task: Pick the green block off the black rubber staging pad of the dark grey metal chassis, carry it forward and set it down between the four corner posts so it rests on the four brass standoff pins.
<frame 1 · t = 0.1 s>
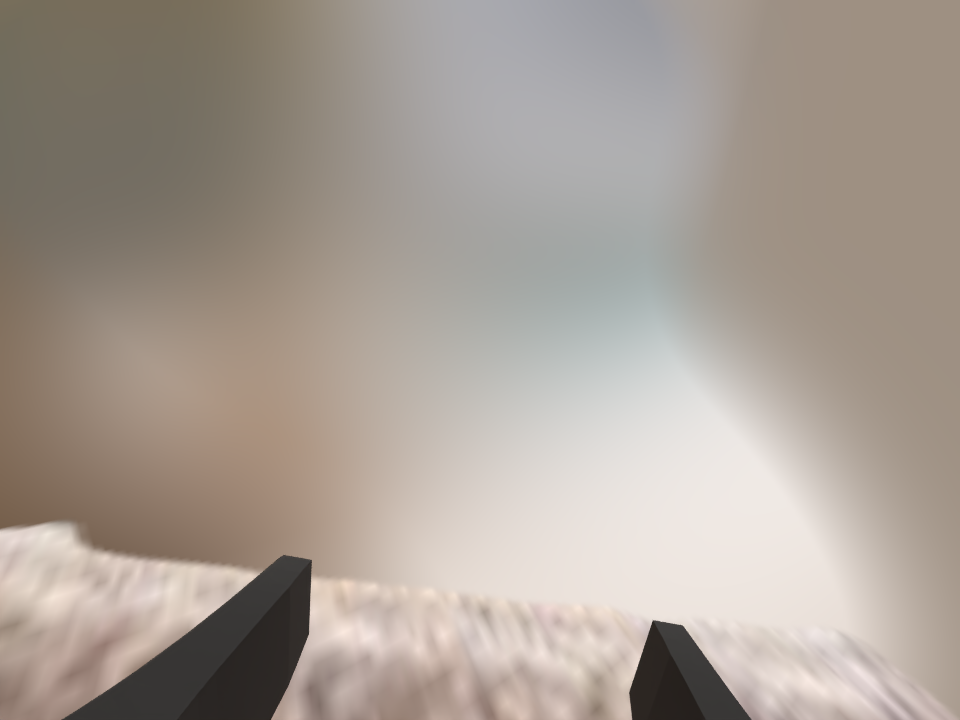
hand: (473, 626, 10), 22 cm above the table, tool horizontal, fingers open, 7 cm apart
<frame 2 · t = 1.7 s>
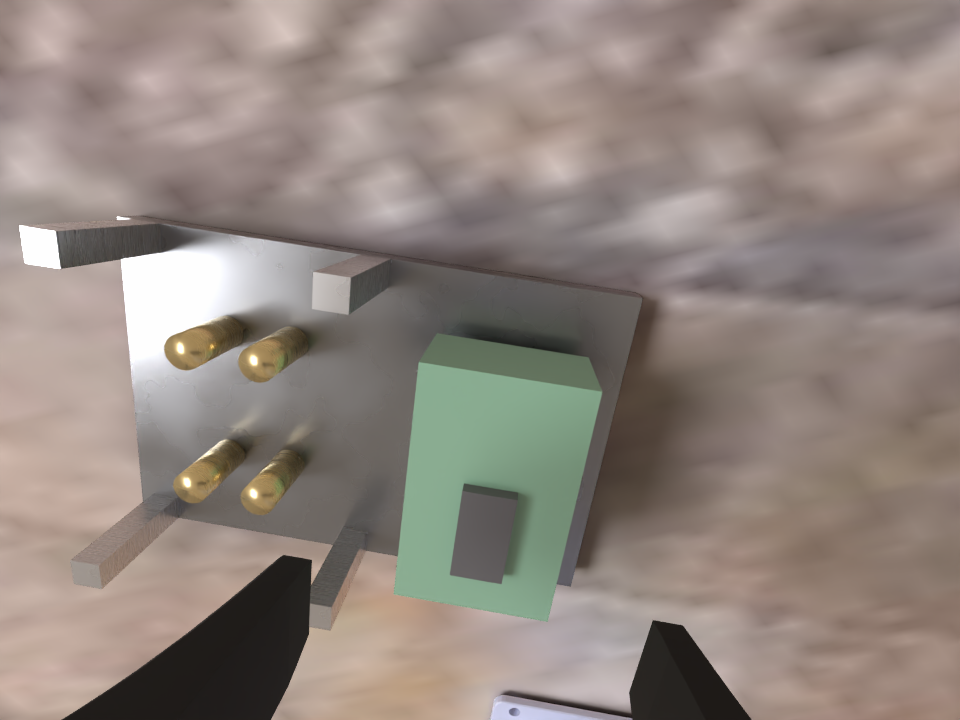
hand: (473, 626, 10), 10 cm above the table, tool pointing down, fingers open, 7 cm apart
green block: (494, 452, 18), point 2 cm above the table, touching chassis
chassis: (371, 406, 20), on the table
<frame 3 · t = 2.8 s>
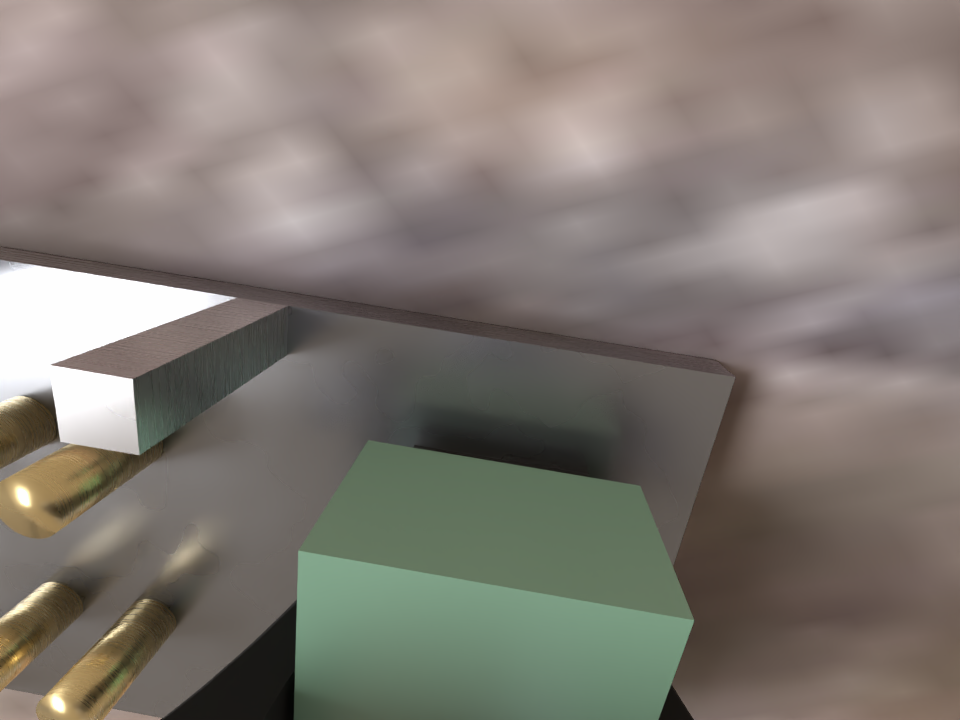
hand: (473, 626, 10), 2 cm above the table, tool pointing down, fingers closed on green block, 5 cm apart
green block: (473, 630, 10), point 2 cm above the table, touching chassis, gripper
chassis: (282, 528, 12), on the table
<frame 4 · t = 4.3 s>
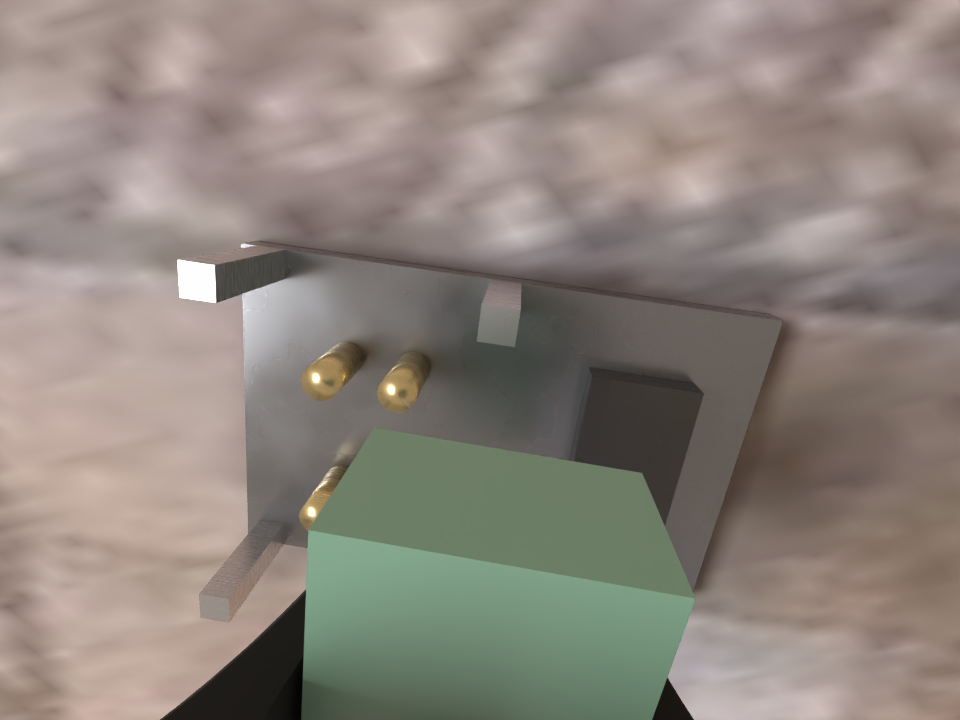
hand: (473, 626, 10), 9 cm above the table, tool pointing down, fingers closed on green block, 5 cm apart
green block: (476, 617, 10), point 9 cm above the table, touching gripper
chassis: (484, 430, 19), on the table
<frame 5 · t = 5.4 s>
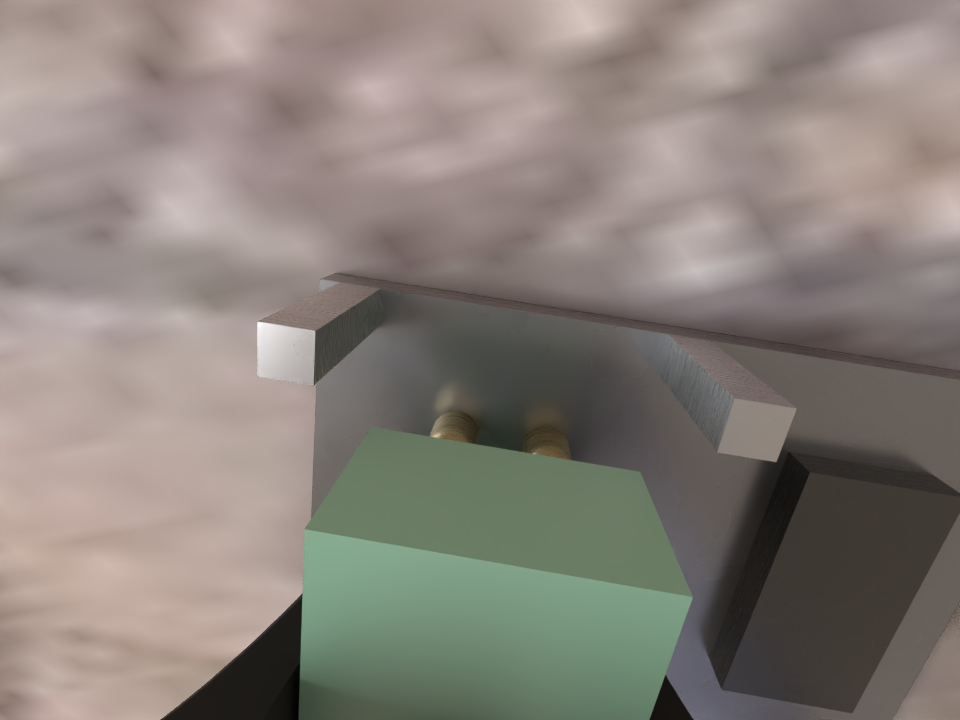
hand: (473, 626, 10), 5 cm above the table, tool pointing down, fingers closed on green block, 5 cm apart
green block: (474, 616, 10), point 5 cm above the table, touching gripper
chassis: (622, 521, 15), on the table
when the fingers open (4 cm above the table, at t = 6.0 s): green block stays where it is, resting on chassis.
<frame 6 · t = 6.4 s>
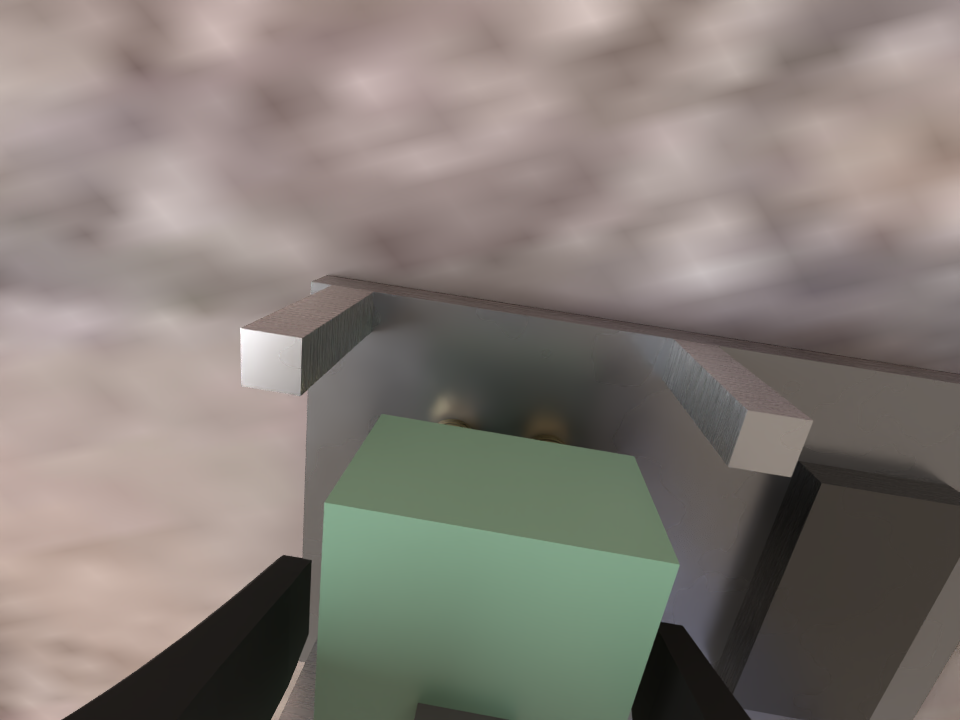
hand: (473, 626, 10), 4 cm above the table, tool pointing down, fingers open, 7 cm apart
green block: (478, 595, 11), point 3 cm above the table, touching chassis
chassis: (625, 531, 14), on the table
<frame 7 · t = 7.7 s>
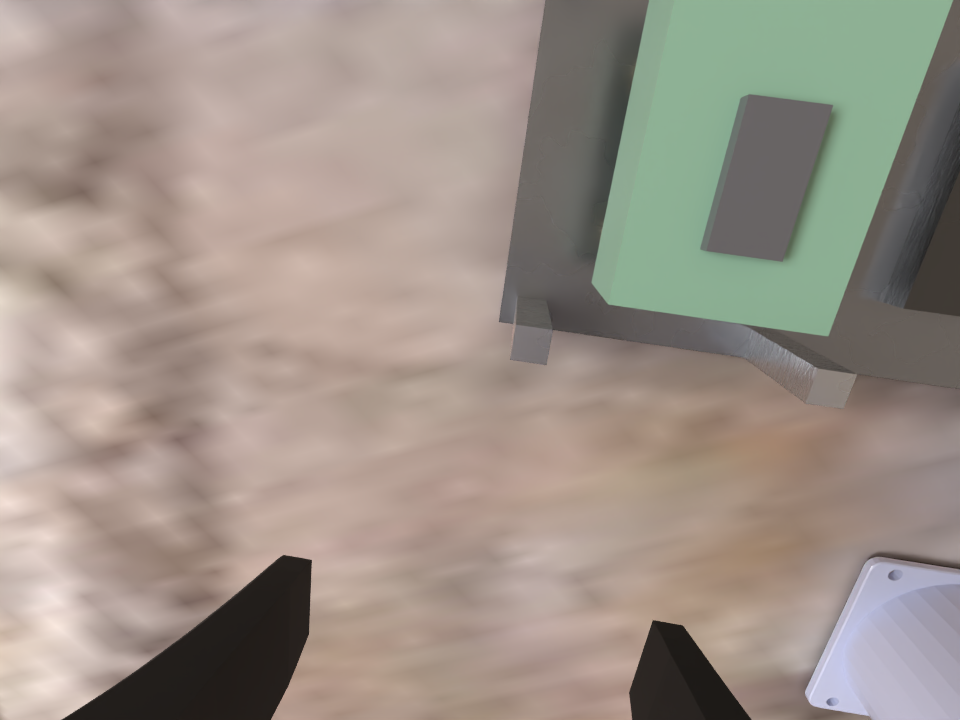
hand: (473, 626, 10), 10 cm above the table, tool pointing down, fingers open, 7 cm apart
green block: (718, 144, 13), point 3 cm above the table, touching chassis
chassis: (801, 176, 16), on the table
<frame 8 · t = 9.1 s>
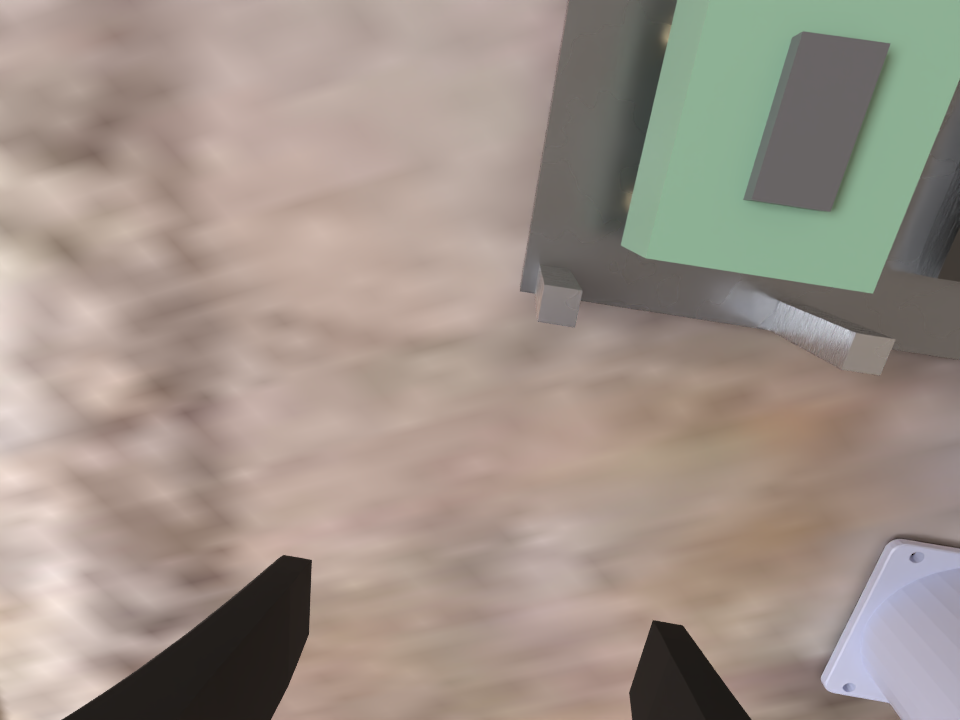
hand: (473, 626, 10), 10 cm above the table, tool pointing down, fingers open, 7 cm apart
green block: (756, 100, 13), point 3 cm above the table, touching chassis
chassis: (832, 143, 16), on the table
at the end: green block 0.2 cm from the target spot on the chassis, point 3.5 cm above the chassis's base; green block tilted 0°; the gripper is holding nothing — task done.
